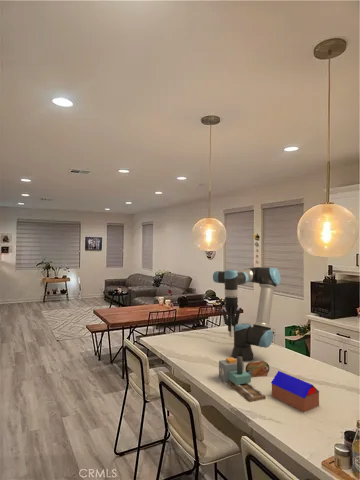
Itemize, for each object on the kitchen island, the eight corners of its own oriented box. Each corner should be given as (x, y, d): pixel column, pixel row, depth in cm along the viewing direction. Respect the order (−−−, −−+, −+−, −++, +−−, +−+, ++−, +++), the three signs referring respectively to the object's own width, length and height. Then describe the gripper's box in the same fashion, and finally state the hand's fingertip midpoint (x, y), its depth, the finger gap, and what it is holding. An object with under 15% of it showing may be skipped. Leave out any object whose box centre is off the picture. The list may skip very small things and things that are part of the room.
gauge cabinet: (236, 375, 189) (236, 358, 189) (244, 380, 181) (243, 362, 182) (218, 378, 185) (218, 360, 185) (224, 383, 177) (224, 365, 177)
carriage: (229, 379, 176) (229, 355, 177) (243, 376, 180) (242, 353, 180) (236, 384, 169) (236, 360, 169) (250, 382, 172) (250, 358, 172)
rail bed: (228, 383, 177) (228, 379, 177) (242, 381, 180) (242, 376, 180) (250, 401, 156) (250, 396, 156) (265, 398, 159) (265, 393, 159)
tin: (247, 378, 184) (247, 363, 185) (244, 376, 188) (244, 361, 188) (269, 375, 189) (269, 361, 189) (267, 373, 192) (266, 359, 192)
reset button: (232, 362, 186) (232, 357, 186) (236, 365, 182) (236, 359, 182) (226, 363, 185) (226, 358, 185) (229, 366, 181) (229, 360, 181)
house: (286, 390, 169) (285, 368, 170) (320, 406, 152) (319, 381, 153) (270, 395, 163) (270, 373, 163) (304, 413, 146) (304, 387, 146)
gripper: (237, 294, 190) (237, 334, 190) (218, 296, 186) (218, 336, 185) (244, 296, 183) (244, 337, 183) (224, 298, 179) (224, 339, 178)
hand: (231, 336), depth 184 cm, fingers closed
